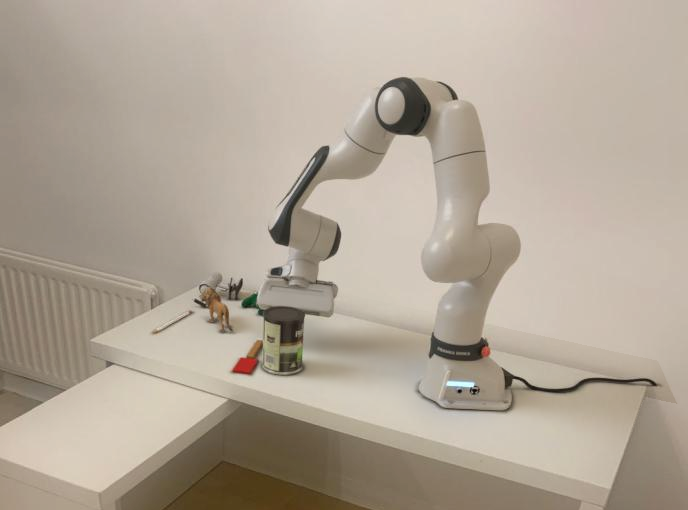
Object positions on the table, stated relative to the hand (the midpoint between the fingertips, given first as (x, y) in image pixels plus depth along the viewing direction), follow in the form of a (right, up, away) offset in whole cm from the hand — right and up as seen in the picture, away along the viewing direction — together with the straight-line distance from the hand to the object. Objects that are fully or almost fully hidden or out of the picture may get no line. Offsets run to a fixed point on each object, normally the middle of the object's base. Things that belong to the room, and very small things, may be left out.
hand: (291, 327), depth 194 cm
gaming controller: (-10, +12, +29) cm, 33 cm away
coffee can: (-2, -11, -3) cm, 12 cm away
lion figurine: (-21, +5, +18) cm, 28 cm away
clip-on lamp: (-23, +17, +34) cm, 44 cm away
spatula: (-10, -8, 0) cm, 13 cm away
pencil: (-34, +5, +17) cm, 38 cm away
